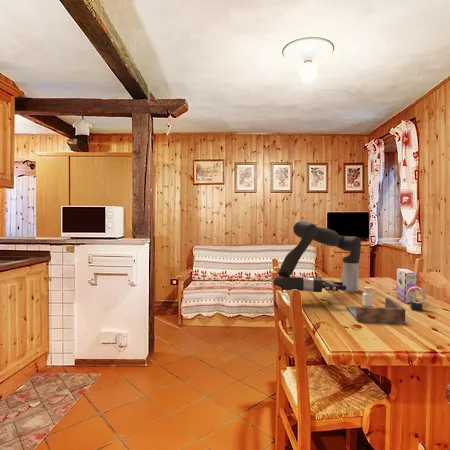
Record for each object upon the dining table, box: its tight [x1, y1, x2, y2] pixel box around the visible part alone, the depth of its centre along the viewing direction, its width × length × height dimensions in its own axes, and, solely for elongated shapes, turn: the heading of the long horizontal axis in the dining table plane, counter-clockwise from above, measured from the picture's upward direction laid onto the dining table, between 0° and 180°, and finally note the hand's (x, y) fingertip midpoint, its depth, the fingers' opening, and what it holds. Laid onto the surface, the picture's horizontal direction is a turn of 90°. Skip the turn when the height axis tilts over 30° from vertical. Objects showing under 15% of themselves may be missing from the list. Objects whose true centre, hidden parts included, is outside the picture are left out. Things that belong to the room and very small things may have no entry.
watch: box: [407, 286, 427, 312], centre depth 157 cm, size 6×8×11 cm
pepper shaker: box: [361, 286, 373, 307], centre depth 163 cm, size 4×4×10 cm
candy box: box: [396, 268, 418, 304], centre depth 173 cm, size 14×6×16 cm, turn 168°
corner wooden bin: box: [346, 297, 406, 324], centre depth 147 cm, size 20×20×6 cm
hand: (344, 286), depth 164 cm, fingers open, 8 cm apart
